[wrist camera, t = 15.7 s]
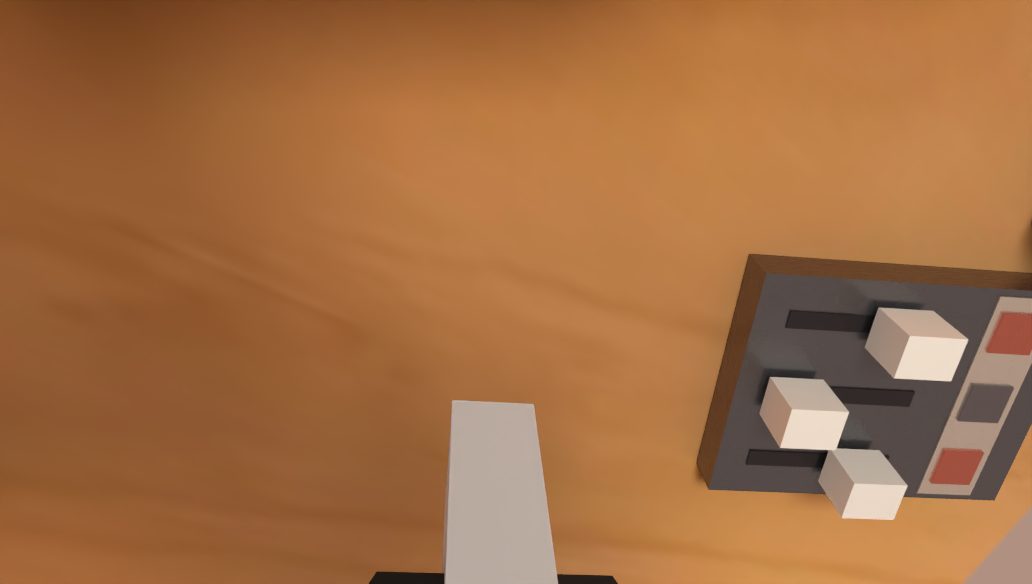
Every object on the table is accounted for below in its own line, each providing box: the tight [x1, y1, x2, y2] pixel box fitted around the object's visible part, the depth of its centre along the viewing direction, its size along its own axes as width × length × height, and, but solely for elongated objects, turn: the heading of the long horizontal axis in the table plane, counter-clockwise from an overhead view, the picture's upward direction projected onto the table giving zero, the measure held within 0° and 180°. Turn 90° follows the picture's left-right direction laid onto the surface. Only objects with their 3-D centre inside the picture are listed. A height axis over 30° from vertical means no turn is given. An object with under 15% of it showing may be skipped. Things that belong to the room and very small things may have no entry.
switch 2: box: [818, 448, 908, 520], centre depth 41 cm, size 2×3×3 cm
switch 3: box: [865, 307, 969, 381], centre depth 37 cm, size 2×3×3 cm
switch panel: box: [697, 254, 1032, 500], centre depth 42 cm, size 14×18×3 cm
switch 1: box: [759, 377, 849, 450], centre depth 39 cm, size 2×3×3 cm
